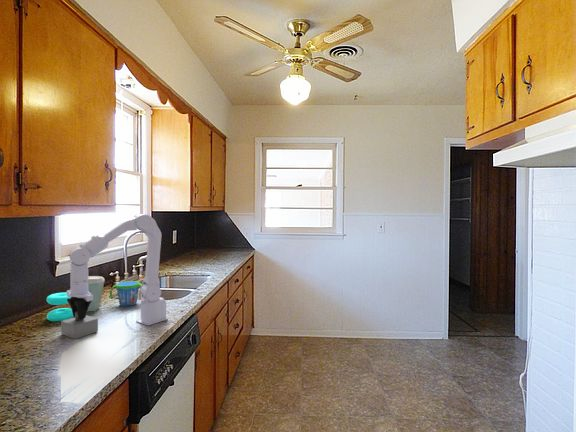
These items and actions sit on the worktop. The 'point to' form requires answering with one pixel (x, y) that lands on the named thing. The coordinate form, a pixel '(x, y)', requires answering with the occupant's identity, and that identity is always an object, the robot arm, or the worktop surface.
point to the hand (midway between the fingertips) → (79, 317)
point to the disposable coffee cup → (95, 291)
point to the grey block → (79, 326)
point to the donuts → (61, 312)
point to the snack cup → (127, 292)
